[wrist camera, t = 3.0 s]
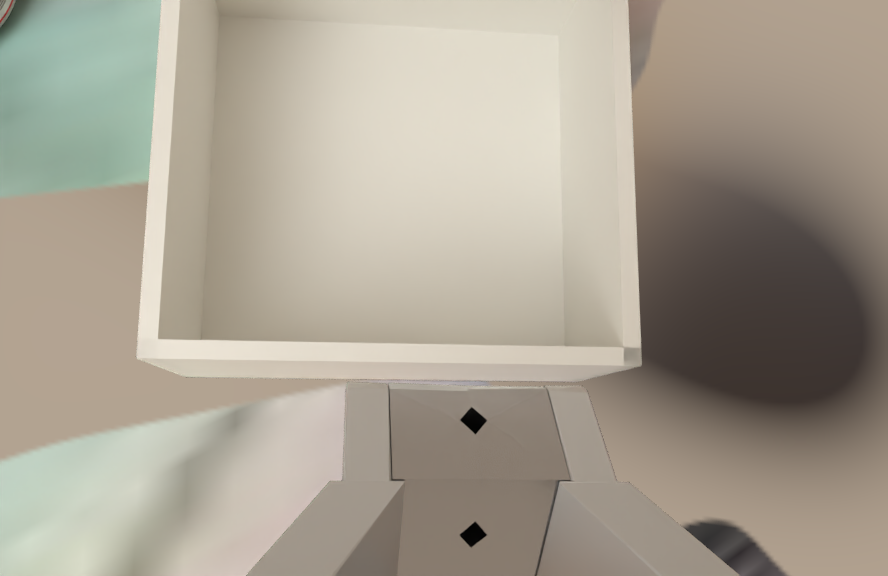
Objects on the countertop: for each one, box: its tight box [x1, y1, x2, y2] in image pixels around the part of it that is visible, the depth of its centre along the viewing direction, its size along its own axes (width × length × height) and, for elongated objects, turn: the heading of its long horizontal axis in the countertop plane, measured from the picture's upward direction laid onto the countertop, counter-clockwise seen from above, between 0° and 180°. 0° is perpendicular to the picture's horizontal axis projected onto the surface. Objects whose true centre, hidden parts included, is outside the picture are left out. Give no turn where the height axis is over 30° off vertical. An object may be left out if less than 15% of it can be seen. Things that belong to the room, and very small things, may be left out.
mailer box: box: [136, 0, 642, 382], centre depth 32 cm, size 16×16×8 cm
